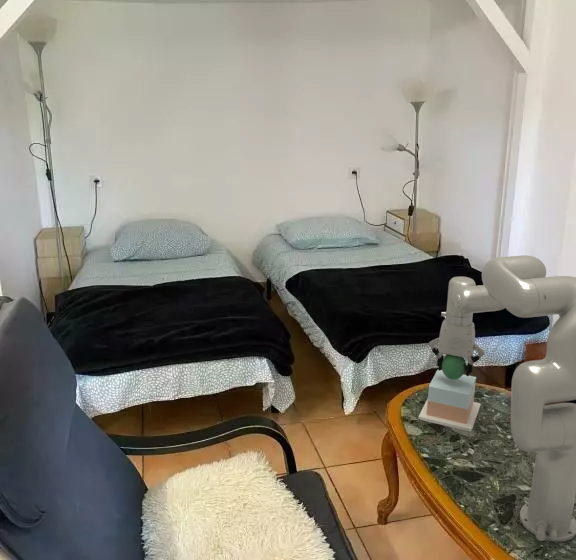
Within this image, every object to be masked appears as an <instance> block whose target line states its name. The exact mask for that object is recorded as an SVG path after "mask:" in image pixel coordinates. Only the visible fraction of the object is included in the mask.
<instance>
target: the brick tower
mask: <svg viewBox="0 0 576 560" xmlns="http://www.w3.org/2000/svg"><path fill="white" fill-rule="evenodd" d="M476 382H477V376H473V375H469V376H467V375H466V374H463V375H462V376H461V377H460V378H459V379H456V380H452V379H449V378H447V377H446V376H445V375H444V373H443V371H442V369H441V370H440V371H439V370H438V369H437V370H436V371H435V374H434V376H433V378H432V380H431V381H430V383H429V386H428V394H427V399H426V401H425V403H424V405H423V406H422V409H421V411H420V413H419V414H418V420H419V419H420V420H419V421H424V422H428V423H432V424H437V425H441V426H445V427H450V428H453V429H457V430H462V431H464V432H465V431H466V432H470V433H472V431H473V429H474V426H475V423H476V420H477V417H478V414H479V411H480V408H481V404H482V403H480V402H475V393H476V392H475V390H476Z"/></svg>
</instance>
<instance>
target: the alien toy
mask: <svg viewBox="0 0 576 560" xmlns="http://www.w3.org/2000/svg"><path fill="white" fill-rule="evenodd" d="M441 370H442V371H443V373H444V375H445V376H446V377H447V378H449V379H452V380H456V379H459V378H460V377H461V376H462V375H465V374H466V371H467V363H466V358H464V357H458V356H452V355H447V354H445V355H444V358H443V361H442V369H441Z"/></svg>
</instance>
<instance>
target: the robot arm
mask: <svg viewBox="0 0 576 560" xmlns="http://www.w3.org/2000/svg"><path fill="white" fill-rule="evenodd" d="M481 281H482V285H479V284H478V285H476V282H475V280H474V279H473V278H471V277H467V276H454V277H452V278H451V279H450V280H449V282H448V289H447V302H446V311H441V315H440V317H443V318H444V319H443V321H442V323H441V327H440V331H439V337H437V338H434V339H432V340H431V341H429V343H428V346H429V348H430V349H431V351H432V353H433V355H435V357H436V358H437V361H436V367H438V368H437V370H439V371H440V370H442V361H443V359H444V357H445V355H452V356H458V357H463V358H464V359H466V361H467V363H466V365H467V370H466V371H465V375H467V376H470V374H472V373H473V370H474V369H473V368H474V364H475V363H476V362H478V361H479V360H480V359H481V358H482V357H483V356H485V354H486V351H485V350H484V349H483V348H482V347H480V346H479V345H478V344H477V343H475V341H476V329H475V323H474V322H473V317H474V315H473V314H475V313H476V314H478V313H485V312H486V313H487V312H496V311H497V312H498V311H501V310H504V309H506V311H508V312H509V313H511V314H512V315H514V316H515V317H518V318H523V319H525V318H526V319H527V318H535V317H536V318H537V317H545V316H553V315H558V318H557V320H556V321H555V322H554V324H553V325H552V327H551V329H550V331H549V332H548V335H547V339H546V353H545V357H543V359H535V360H529V361H525V362H522V363H520V364H519V365H517V367H516V368H515V370H514V372H513V375H512V378H511V389H510V391H511V392H510V433H511V437H512V439H513V442H514V444H515V445H516V447H517V448H518V449H520V450H521V451H523V452H526V453H536V456H535V461H534V465H533V473H532V479H531V483H530V484H531V485H530V492H529V497H528V502H527V503H525V504H524V505H523V506H521V508H520V511H519V520H520V523H521V524H522V525H523V527H524V528H525V529H526V530H528V532H530V533H531V534H533V536H534V535H535V538H536V540H538V541H541V542H543V541H545V540H547V541H550V542H560V543H562V542H567V541H569V540H571V539H573V538H574V537H575V536H576V518H575V517H574V516H573V513H574V507H575V502H576V403H573V402H569V401H575V400H576V277H575V276H569V275H558V276H557V275H556V276H547V268H546V265H545V264H544V262H543V261H542V260H541V259H540V258H538V257H535V256H533V255H523V254H522V255H512V256H511V255H509V256H499V257H494V258H491V259H489V260H488V261H487V262H486V263H485V264H484V266H483V268H482V270H481ZM437 344H438V345H437ZM436 345H437V346H436ZM474 351H475V352H477V354H476V355H473V354H474Z"/></svg>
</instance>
